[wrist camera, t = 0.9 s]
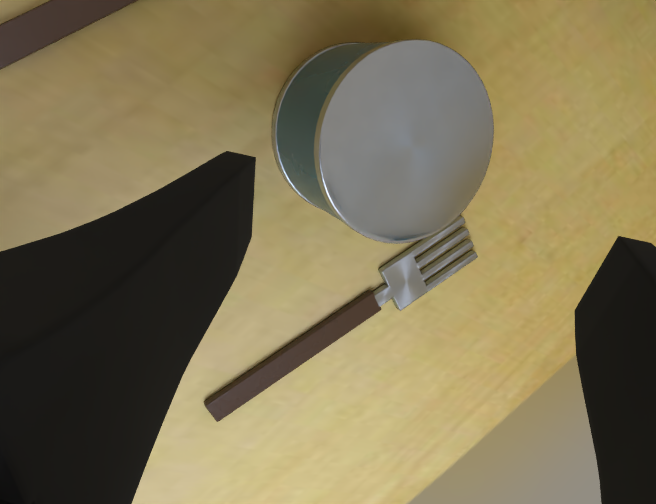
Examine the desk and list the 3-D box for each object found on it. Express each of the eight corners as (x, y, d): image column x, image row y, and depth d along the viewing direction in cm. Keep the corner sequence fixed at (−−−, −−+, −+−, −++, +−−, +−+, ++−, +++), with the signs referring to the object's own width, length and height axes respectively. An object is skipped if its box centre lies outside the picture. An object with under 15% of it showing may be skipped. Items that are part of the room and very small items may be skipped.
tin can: (337, 243, 26) (392, 281, 21) (235, 121, 22) (276, 137, 18) (447, 138, 26) (522, 155, 22) (365, 4, 23) (435, -8, 18)
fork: (222, 427, 26) (225, 432, 26) (195, 391, 25) (197, 395, 25) (473, 254, 29) (478, 257, 29) (458, 214, 28) (463, 217, 27)
